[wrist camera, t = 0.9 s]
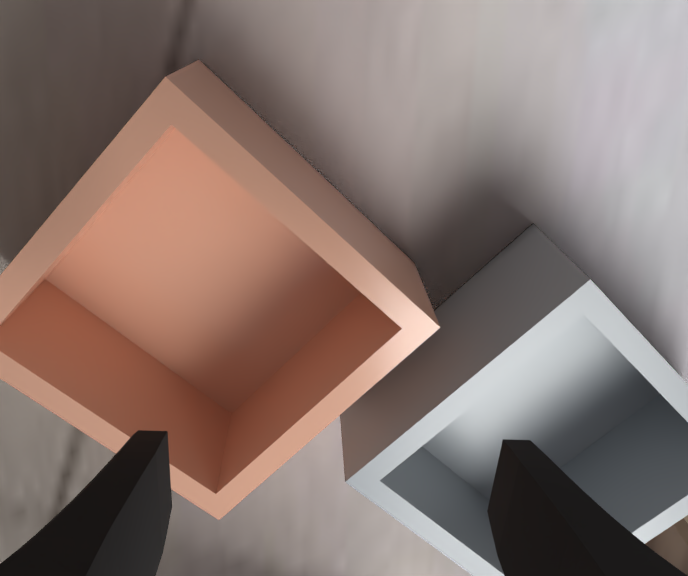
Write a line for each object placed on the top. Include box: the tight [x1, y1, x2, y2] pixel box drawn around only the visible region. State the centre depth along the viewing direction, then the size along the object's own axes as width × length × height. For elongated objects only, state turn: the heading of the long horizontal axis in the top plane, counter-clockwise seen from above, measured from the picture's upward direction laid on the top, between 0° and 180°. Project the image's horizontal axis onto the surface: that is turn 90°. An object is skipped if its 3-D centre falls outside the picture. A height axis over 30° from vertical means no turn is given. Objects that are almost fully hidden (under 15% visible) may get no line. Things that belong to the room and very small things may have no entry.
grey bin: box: [340, 224, 688, 576], centre depth 23 cm, size 10×10×5 cm
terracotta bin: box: [0, 60, 440, 520], centre depth 20 cm, size 10×10×5 cm
